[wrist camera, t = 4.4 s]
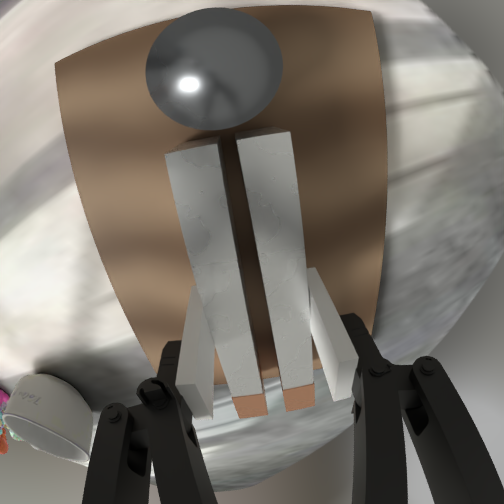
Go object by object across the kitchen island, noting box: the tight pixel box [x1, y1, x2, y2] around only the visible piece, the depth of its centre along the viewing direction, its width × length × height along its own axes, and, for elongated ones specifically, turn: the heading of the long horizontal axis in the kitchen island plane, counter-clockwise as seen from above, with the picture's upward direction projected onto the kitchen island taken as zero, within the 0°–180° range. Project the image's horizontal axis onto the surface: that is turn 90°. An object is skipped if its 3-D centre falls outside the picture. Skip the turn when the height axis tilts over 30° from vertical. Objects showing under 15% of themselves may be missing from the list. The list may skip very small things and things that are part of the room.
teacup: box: [2, 374, 93, 462], centre depth 22 cm, size 14×11×8 cm
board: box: [55, 5, 387, 385], centre depth 17 cm, size 26×18×2 cm
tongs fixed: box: [145, 8, 283, 418], centre depth 15 cm, size 24×5×4 cm, turn 8°
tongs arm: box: [234, 126, 315, 412], centre depth 16 cm, size 18×2×4 cm, turn 10°
